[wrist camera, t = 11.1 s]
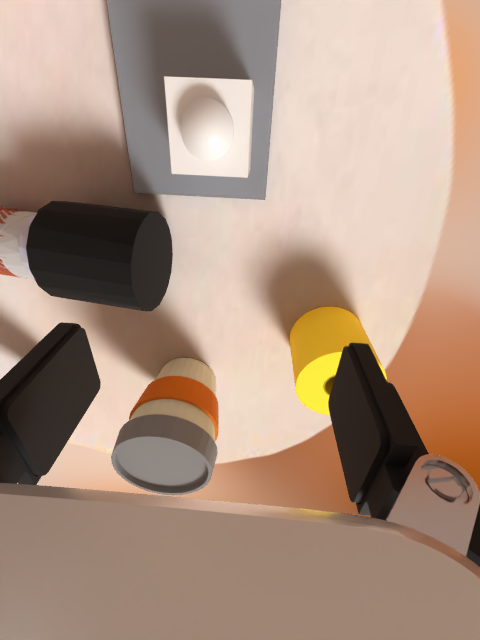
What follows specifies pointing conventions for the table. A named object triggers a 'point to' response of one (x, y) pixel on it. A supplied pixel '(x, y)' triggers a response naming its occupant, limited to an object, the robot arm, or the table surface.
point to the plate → (196, 62)
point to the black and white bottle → (89, 252)
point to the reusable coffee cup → (171, 431)
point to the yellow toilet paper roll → (322, 352)
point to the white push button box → (209, 125)
